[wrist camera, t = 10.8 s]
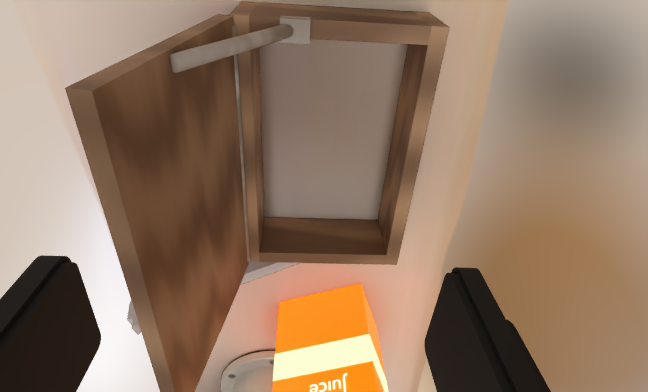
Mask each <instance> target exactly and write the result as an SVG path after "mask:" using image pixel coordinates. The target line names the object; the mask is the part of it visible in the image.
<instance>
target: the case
mask: <svg viewBox="0 0 648 392" xmlns="http://www.w3.org/2000/svg"><path fill="white" fill-rule="evenodd" d="M449 28H450V27H449V26H447V25H446V24H444V23H443V22H442V21H440V20H439V19H437V18H436V17H435V16H433V15H432V14H430V13H428V12H411V11H394V10H377V9H360V8H344V7H327V6H310V5H293V4H276V3H259V2H242V1H241V3H240V4H239V5H238V6H237V7H236V8H235V9H234V11H233V12H232V13H231V14H230V16H229V15H216V16H214V17H212V18H210V19H208V20H206V21H204V22H202V23H200V24H197V25H195V26H193V27H191V28H189V29H187V30H185V31H183V32H181V33H179V34H177V35H175V36H172V37H170V38H168V39H166V40H164V41H162V42H160V43H158V44H156V45H154V46H152V47H150V48H147V49H145V50H143V51H141V52H139V53H137V54H135V55H133V56H131V57H129V58H127V59H125V60H122V61H120V62H118V63H116V64H114V65H112V66H110V67H108V68H106V69H104V70H102V71H100V72H97V73H95V74H93V75H91V76H89V77H87V78H85V79H83V80H81V81H79V82H77V83H74V84H72V85H70V86H68V87H66V88H65V89H66V93H67V96H68V99H69V102H70V105H71V108H72V112H73V115H74V118H75V121H76V124H77V128H78V131H79V134H80V137H81V140H82V144H83V147H84V150H85V153H86V156H87V159H88V163H89V166H90V169H91V172H92V175H93V179H94V182H95V185H96V188H97V191H98V195H99V198H100V201H101V204H102V207H103V210H104V214H105V217H106V220H107V223H108V226H109V230H110V233H111V236H112V239H113V242H114V246H115V249H116V252H117V255H118V258H119V261H120V265H121V268H122V271H123V274H124V277H125V281H126V284H127V287H128V290H129V293H130V297H131V300H132V303H133V306H134V309H135V312H136V316H137V319H138V322H139V325H140V328H141V332H142V335H143V338H144V341H145V344H146V347H147V351H148V354H149V357H150V360H151V363H152V367H153V370H154V373H155V376H156V379H157V382H158V386H159V389H160V392H195V389H196V387H197V385H198V382H199V380H200V378H201V375H202V373H203V371H204V368H205V366H206V364H207V361H208V359H209V356H210V354H211V352H212V349H213V347H214V345H215V342H216V340H217V338H218V335H219V333H220V331H221V328H222V326H223V324H224V321H225V319H226V317H227V314H228V312H229V310H230V307H231V305H232V303H233V300H234V298H235V296H236V293H237V291H238V289H239V286H240V284H241V281H242V279H243V277H244V274H245V272H246V270H247V267H248V265H249V262H284V263H337V264H391V265H397V262H398V257H399V253H400V248H401V244H402V239H403V235H404V230H405V226H406V221H407V217H408V212H409V208H410V203H411V199H412V194H413V190H414V185H415V181H416V176H417V172H418V167H419V163H420V158H421V154H422V149H423V145H424V140H425V136H426V131H427V127H428V122H429V118H430V113H431V109H432V104H433V100H434V95H435V91H436V86H437V82H438V77H439V73H440V68H441V64H442V59H443V55H444V50H445V46H446V41H447V37H448V32H449ZM310 39H324V40H343V41H361V42H380V43H398V44H408V48H407V54H406V60H405V66H404V72H403V78H402V83H401V89H400V95H399V101H398V107H397V113H396V118H395V124H394V130H393V136H392V142H391V148H390V153H389V159H388V165H387V171H386V177H385V183H384V188H383V194H382V200H381V206H380V212H379V218H378V220H347V219H308V218H269V217H264V191H263V160H262V128H261V97H260V65H259V47H261V46H264V45H267V44H270V43H273V42H277V41H280V43H297V44H310Z"/></svg>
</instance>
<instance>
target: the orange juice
mask: <svg viewBox="0 0 648 392" xmlns="http://www.w3.org/2000/svg"><path fill="white" fill-rule="evenodd" d="M273 392H388V387H387V382H386V378H385V373H384V367H383V361H382V355H381V350H380V344H379V338H378V332H377V327H376V325H375V322H374V319H373V316H372V313H371V310H370V307H369V305H368V302H367V299H366V296H365V293H364V290H363V287H362V284H361V283H360V284H355V285H351V286H347V287H342V288H338V289H334V290H329V291H325V292H321V293H316V294H312V295H308V296H303V297H299V298H295V299H291V300H286V301H282V302H279V311H278V324H277V338H276V351H275V357H274V370H273Z"/></svg>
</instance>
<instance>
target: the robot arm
mask: <svg viewBox="0 0 648 392" xmlns="http://www.w3.org/2000/svg"><path fill="white" fill-rule="evenodd" d="M100 341H101V334H100V331H99V328H98V325H97V322H96V319H95V316H94V313H93V310H92V307H91V304H90V301H89V298H88V295H87V292H86V289H85V286H84V283H83V280H82V277H81V274H80V272H79V268H78V266H77V264H76V263H73V262H71V260H70V259H69V258H68V257H66V256H39V257H37V258H36V259H35V260H34V261H33V262H32V263H31V265H30V266H29V267H28V268H27V269H26V270H25V271H24V273H23V274H22V275H21V276H20V277H19V278H18V279H17V281H16V282H15V283H14V284H13V285H12V287H10V289H9V290H8V291H7V292H6V293H5V294H4V295H3V297H2V298H1V299H0V392H76V390H77V389H78V387H79V385H80V383H81V381H82V379H83V377H84V375H85V373H86V371H87V370H88V368H89V366H90V364H91V362H92V360H93V358H94V356H95V354H96V352H97V350H98V348H99V345H100ZM425 352H426V356H427V359H428V362H429V366H430V369H431V373H432V376H433V379H434V383H435V386H436V389H437V392H551V391H550V389H549V388H548V386H547V384H546V382H545V380H544V378H543V377H542V375H541V373H540V371H539V369H538V368H537V366H536V364H535V362H534V360H533V359H532V357H531V355H530V353H529V351H528V350H527V348H526V346H525V344H524V342H523V340H522V339H521V337H520V335H519V333H518V331H517V330H516V328H515V327H514V325H513V324H512V323H511V322H510V321H509V320H506V319H505V317H504V315H503V313H502V312H501V310H500V308H499V306H498V304H497V302H496V300H495V299H494V297H493V295H492V293H491V291H490V290H489V287H488V286H487V284H486V282H485V280H484V278H483V276H482V274H481V273H480V271H479V270H478V269H477V268H454V269H453V270H452V272H451V273H447V274H446V275H445V277H444V281H443V284H442V287H441V290H440V293H439V297H438V300H437V303H436V306H435V309H434V312H433V316H432V319H431V322H430V325H429V328H428V331H427V335H426V338H425ZM274 357H275V351H261V352H256V353H251V354H248V355H245V356H243V357H241V358H239V359H237V360H235V361H233V362H232V363H231V364H230V365H228V367H227V368H226V369H225V370H224V373H223V375H222V379H221V392H273V370H274Z"/></svg>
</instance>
